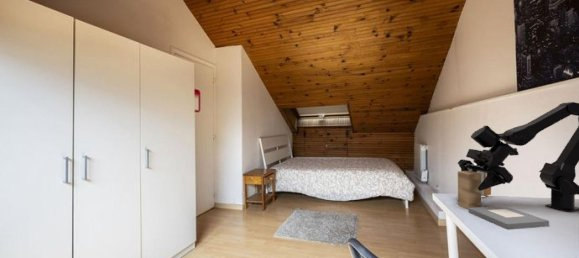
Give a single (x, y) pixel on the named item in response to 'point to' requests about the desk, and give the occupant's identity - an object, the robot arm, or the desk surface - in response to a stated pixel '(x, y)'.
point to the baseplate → (508, 217)
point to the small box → (483, 176)
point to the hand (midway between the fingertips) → (468, 186)
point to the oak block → (469, 189)
